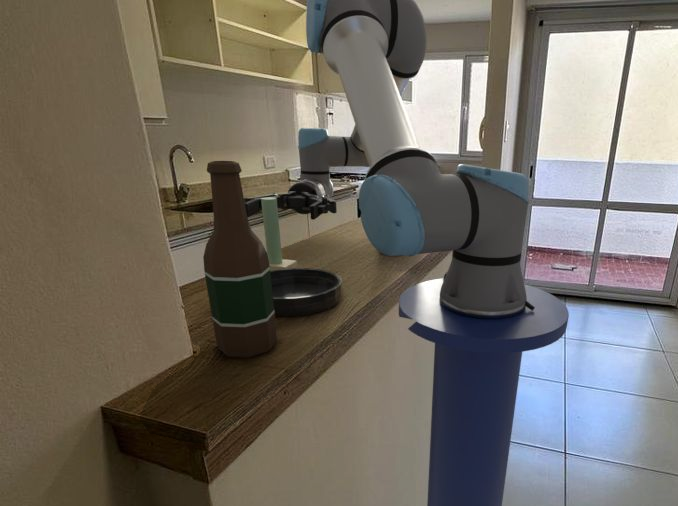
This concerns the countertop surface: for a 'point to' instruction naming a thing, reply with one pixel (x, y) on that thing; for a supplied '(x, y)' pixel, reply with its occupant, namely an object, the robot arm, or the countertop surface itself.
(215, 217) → the beer bottle
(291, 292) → the black shallow round dish
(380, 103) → the robot arm
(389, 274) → the countertop surface
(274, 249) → the green peg on base
